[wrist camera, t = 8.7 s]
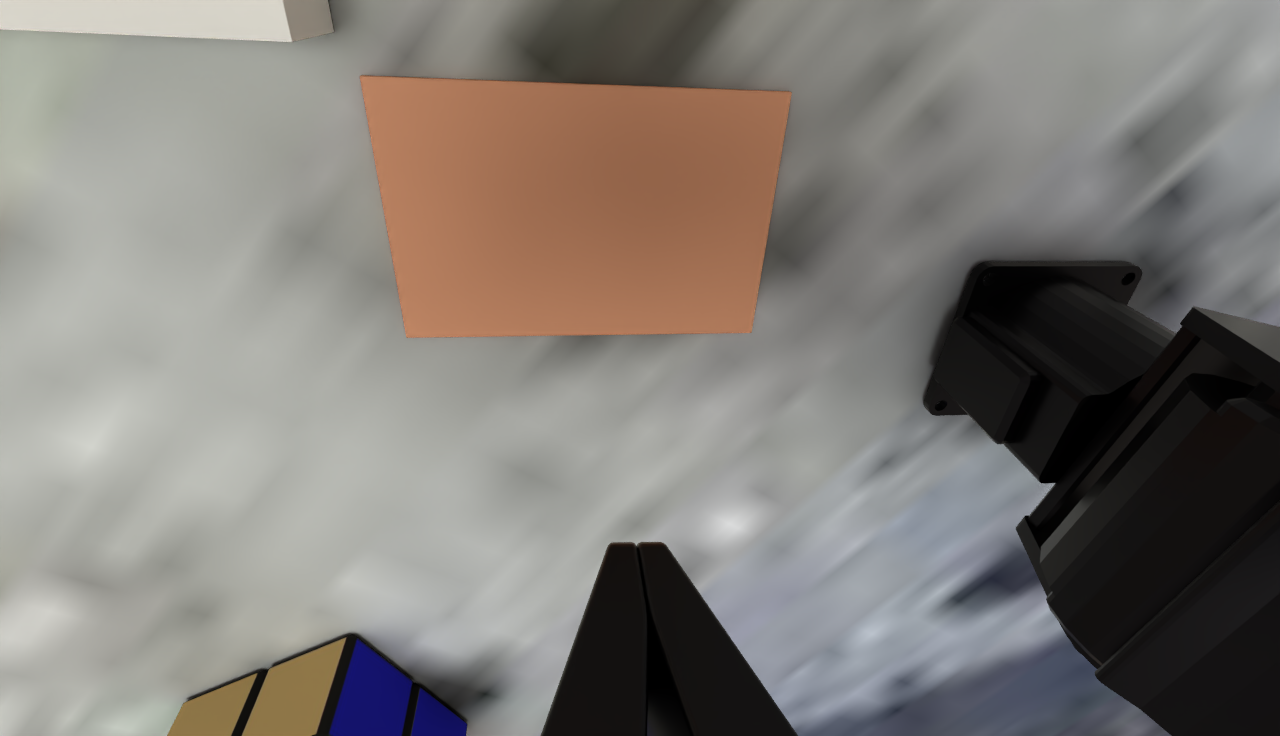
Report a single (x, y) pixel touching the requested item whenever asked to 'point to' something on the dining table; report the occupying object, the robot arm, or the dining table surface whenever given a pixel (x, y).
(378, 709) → the puzzle cube
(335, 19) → the dining table surface
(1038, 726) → the dining table surface
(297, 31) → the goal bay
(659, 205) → the mats
